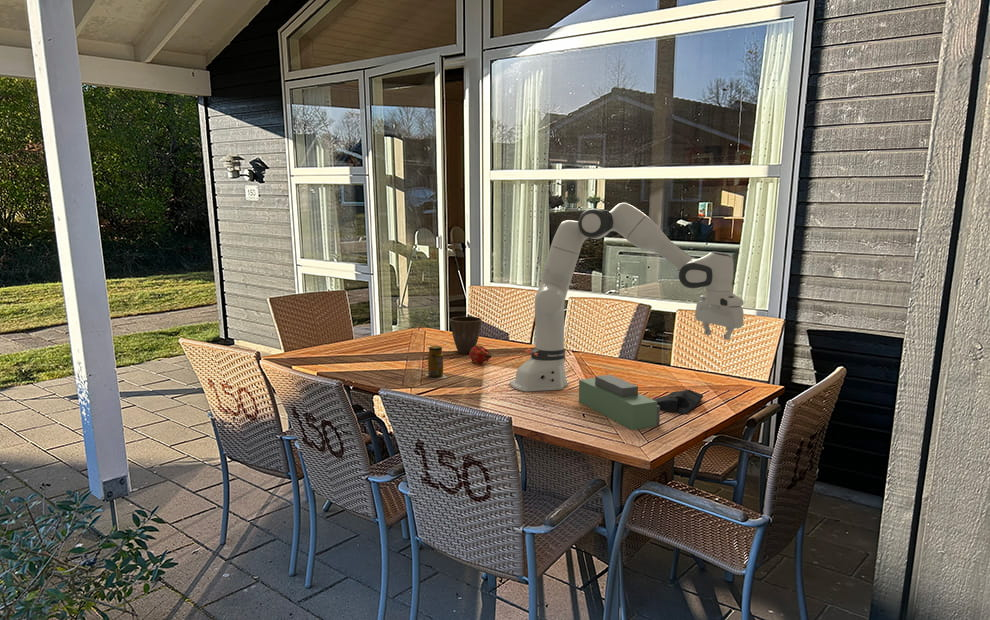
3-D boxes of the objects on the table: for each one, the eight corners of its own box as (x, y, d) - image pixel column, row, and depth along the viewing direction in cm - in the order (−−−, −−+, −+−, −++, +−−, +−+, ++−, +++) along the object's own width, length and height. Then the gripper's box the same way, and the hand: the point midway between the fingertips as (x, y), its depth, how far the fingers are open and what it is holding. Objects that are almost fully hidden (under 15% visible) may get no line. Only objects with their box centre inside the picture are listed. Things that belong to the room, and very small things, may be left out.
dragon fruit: (471, 363, 289) (488, 372, 280) (460, 354, 283) (477, 363, 274) (482, 347, 290) (498, 355, 281) (470, 338, 284) (487, 347, 276)
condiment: (441, 373, 265) (441, 344, 263) (447, 378, 257) (447, 349, 255) (424, 374, 263) (424, 346, 261) (429, 379, 255) (429, 350, 253)
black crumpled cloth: (710, 402, 227) (711, 389, 226) (684, 417, 210) (684, 403, 210) (670, 394, 237) (670, 381, 236) (642, 408, 220) (642, 394, 220)
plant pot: (463, 347, 314) (463, 315, 312) (488, 351, 306) (488, 318, 303) (443, 352, 302) (443, 319, 300) (468, 357, 294) (468, 322, 291)
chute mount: (632, 430, 197) (633, 395, 195) (578, 401, 226) (579, 371, 224) (661, 425, 201) (662, 391, 199) (605, 398, 230) (606, 368, 228)
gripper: (691, 295, 233) (690, 332, 235) (733, 302, 214) (731, 343, 216) (705, 294, 235) (703, 331, 237) (747, 301, 216) (745, 341, 219)
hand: (717, 337), depth 226 cm, fingers open, 8 cm apart
